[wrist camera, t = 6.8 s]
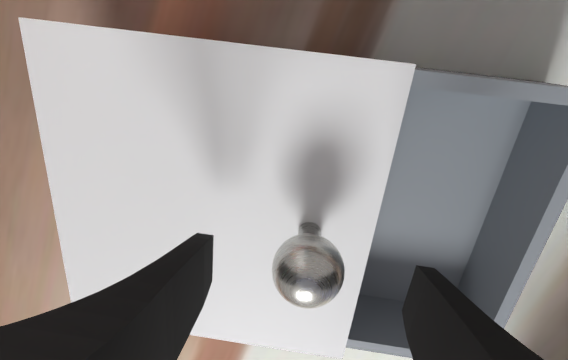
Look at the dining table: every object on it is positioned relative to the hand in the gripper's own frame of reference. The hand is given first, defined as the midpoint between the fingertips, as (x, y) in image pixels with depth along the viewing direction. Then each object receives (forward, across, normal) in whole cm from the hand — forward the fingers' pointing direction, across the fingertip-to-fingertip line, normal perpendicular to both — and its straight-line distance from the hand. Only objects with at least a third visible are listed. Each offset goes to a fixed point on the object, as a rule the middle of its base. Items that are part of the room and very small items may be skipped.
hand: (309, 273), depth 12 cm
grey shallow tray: (+7, -3, 0) cm, 8 cm away
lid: (+3, +5, 0) cm, 6 cm away
